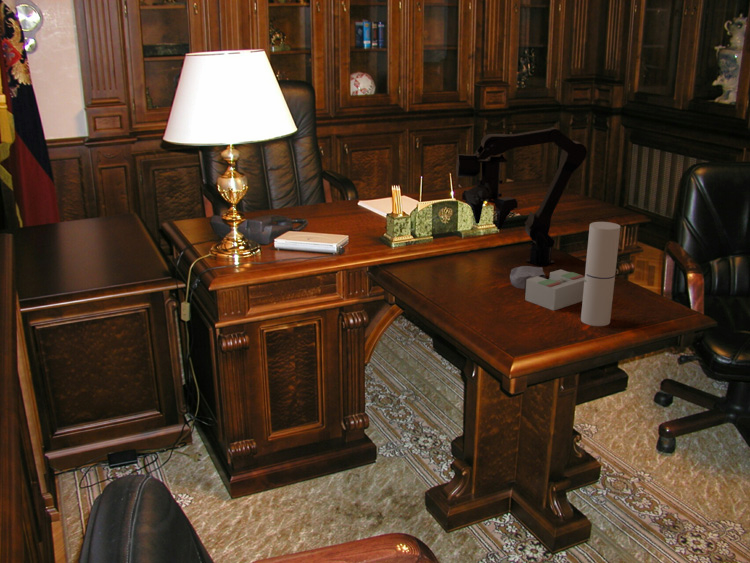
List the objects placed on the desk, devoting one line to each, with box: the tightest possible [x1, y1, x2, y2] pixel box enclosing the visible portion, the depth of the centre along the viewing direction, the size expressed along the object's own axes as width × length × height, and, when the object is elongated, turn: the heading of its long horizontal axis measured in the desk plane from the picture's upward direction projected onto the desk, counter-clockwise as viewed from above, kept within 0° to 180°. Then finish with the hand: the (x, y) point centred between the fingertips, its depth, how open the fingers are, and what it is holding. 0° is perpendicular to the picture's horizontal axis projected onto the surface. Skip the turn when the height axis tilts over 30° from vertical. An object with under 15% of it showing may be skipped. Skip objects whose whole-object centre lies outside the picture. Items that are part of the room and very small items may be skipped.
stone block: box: [509, 265, 546, 290], centre depth 215 cm, size 12×5×10 cm
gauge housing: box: [524, 269, 585, 312], centre depth 200 cm, size 14×10×6 cm
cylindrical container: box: [580, 221, 621, 327], centre depth 183 cm, size 7×7×25 cm
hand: (487, 226), depth 228 cm, fingers open, 9 cm apart
